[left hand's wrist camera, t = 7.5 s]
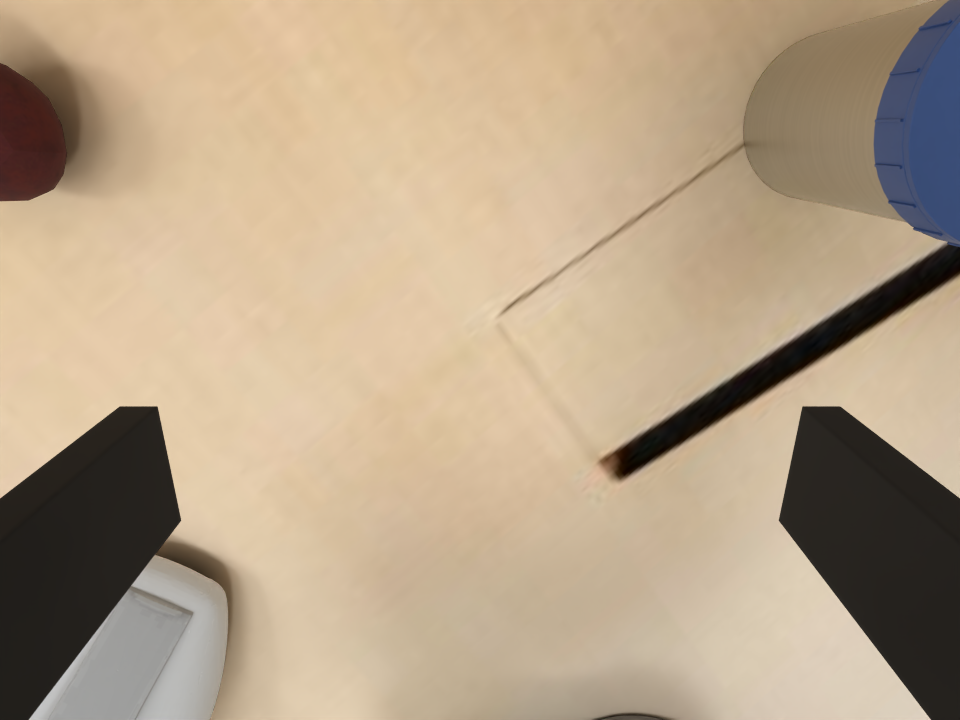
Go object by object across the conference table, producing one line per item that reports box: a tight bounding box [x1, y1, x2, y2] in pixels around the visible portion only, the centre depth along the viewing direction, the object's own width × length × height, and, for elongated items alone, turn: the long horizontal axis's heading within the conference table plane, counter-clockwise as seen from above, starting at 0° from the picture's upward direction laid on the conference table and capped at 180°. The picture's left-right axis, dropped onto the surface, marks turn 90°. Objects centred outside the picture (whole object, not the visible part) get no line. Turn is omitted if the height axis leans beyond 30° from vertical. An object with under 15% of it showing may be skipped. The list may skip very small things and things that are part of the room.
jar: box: [744, 0, 949, 222], centre depth 29 cm, size 9×9×15 cm
